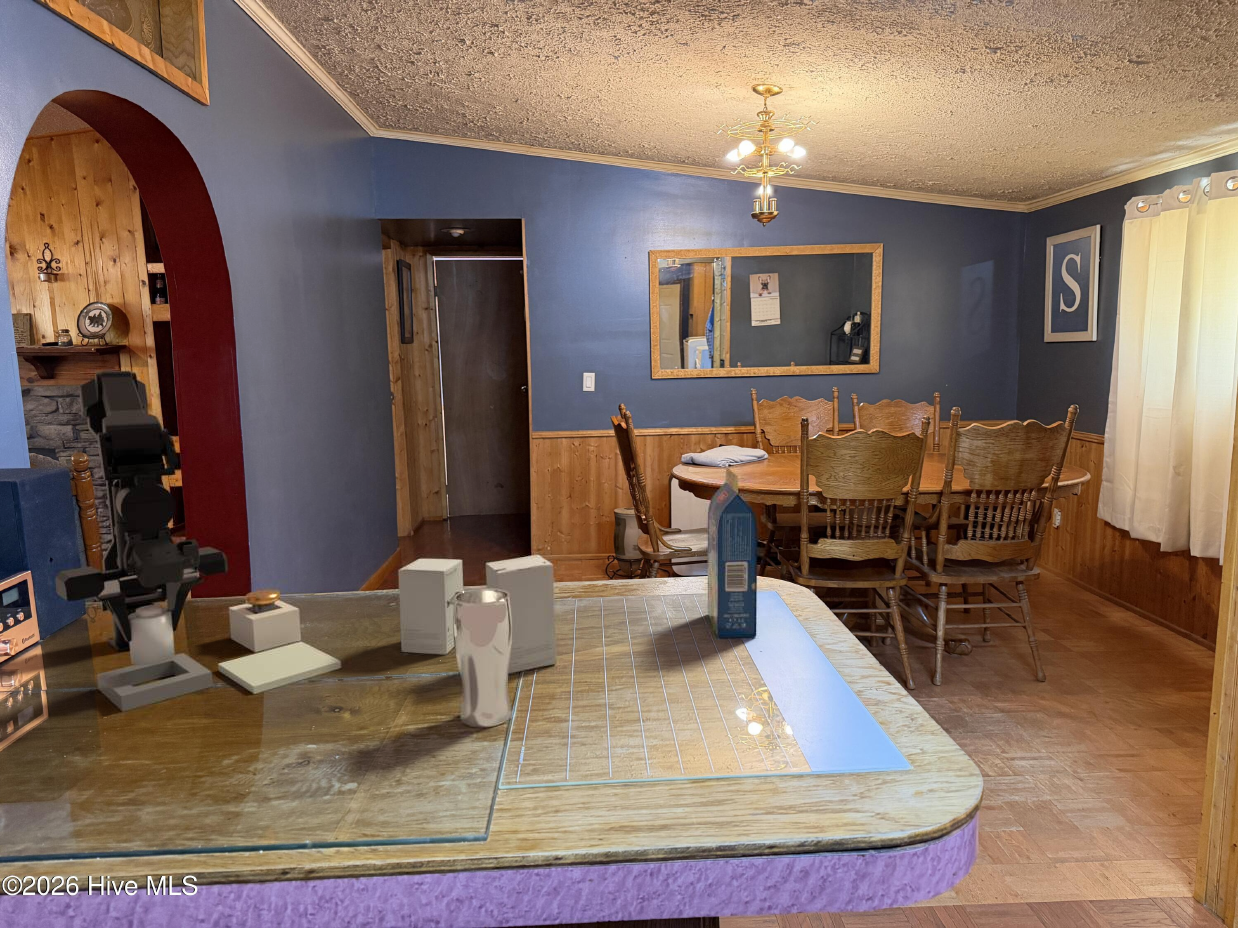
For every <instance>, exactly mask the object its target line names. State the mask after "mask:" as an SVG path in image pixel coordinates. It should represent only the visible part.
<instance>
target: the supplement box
mask: <svg viewBox="0 0 1238 928" xmlns="http://www.w3.org/2000/svg"><path fill="white" fill-rule="evenodd" d="M397 572H398V574H397V575H398V593H399V596H398V597H399V616H400V618H399V620H400V622H399V623H400V641H401V645H400V646H401V652H403V653H417V654H427V655H428V654H429V655H431V654H432V655H447V654H448V653H449V652H451V650H452V649H453V648H455V646H454V637H453V610H454V596H455V595H456V594H458V593H460V592H463V591H464V579H463V577H464V575H463V560H462V559H453V558H452V559H450V558H449V559H448V558H419V559H416V560H414V561H413V562H411V563H409V564H407V565H405V566H403V567H402V568H400V569H398V571H397Z"/></svg>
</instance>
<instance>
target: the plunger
mask: <svg viewBox="0 0 1238 928" xmlns="http://www.w3.org/2000/svg"><path fill="white" fill-rule="evenodd" d="M280 595H281V593H280V590H277V589H260V590H255V591H252V592H248V593H247V594H246V595H245V604H250V605H252V611H253V613H254V614H259V613H263V612H267V611H272V610H275V602H276V601H278V600H280V599H281V596H280Z"/></svg>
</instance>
